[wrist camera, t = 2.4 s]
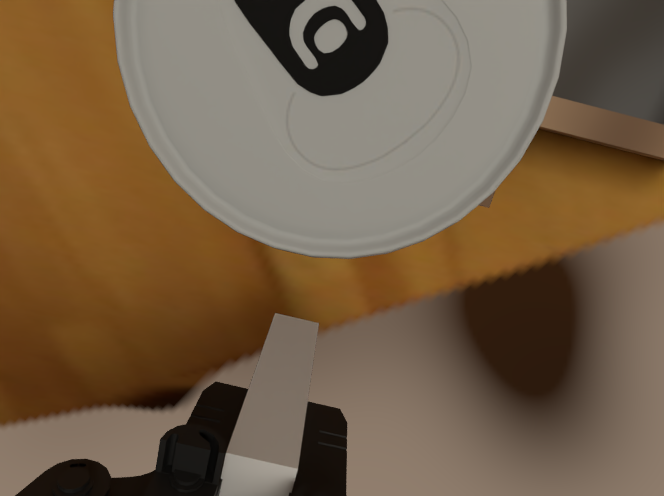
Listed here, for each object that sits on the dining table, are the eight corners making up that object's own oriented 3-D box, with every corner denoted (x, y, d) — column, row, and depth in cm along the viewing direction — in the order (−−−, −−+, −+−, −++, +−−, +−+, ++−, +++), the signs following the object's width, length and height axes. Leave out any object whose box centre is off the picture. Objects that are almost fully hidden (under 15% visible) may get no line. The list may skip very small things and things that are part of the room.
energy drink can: (329, 182, 21) (293, 386, 6) (237, 64, 19) (-65, -12, 5) (447, 93, 19) (728, 100, 5) (358, -41, 18) (410, -529, 4)
